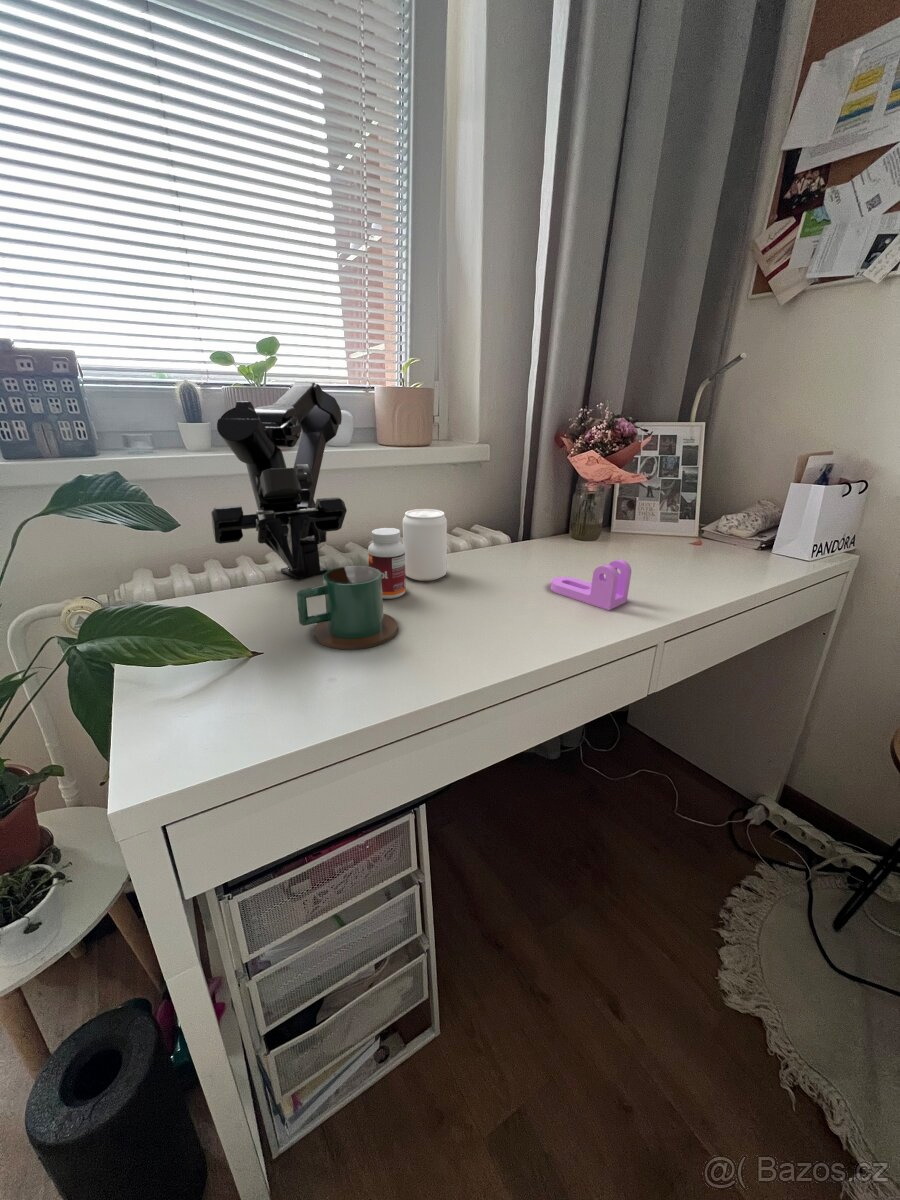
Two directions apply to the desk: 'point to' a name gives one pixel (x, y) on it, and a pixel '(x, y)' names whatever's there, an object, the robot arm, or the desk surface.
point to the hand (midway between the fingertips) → (294, 568)
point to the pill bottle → (388, 561)
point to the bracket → (598, 586)
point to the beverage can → (425, 544)
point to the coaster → (361, 643)
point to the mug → (347, 602)
